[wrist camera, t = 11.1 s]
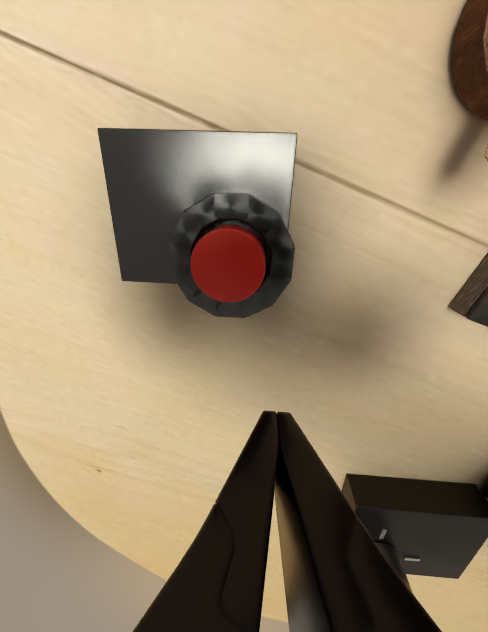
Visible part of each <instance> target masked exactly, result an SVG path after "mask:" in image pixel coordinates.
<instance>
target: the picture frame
mask: <svg viewBox="0 0 488 632" xmlns="http://www.w3.org/2000/svg"><path fill="white" fill-rule="evenodd" d="M448 307H449V308H451V309H453V310H454V311H456V312H457V313H459V314H461V315H462V316H464V317H466V318H467V319H470V320H472V321H475V322H477V323H480V324H483V325H485V326H488V254H487V255H486V257H485V258H484V259H483V261H482V262H481V263H480V265H479V266H478V267H477V269H476V270H475V271H474V273H473V274H472V275H471V277H470V278H469V279H468V281H467V282H466V283H465V285H464V286H463V287H462V289H461V290H460V291H459V293H458V294H457V295H456V297H455V298H454V299H453V301H452V302H451V303H450V305H449V306H448Z"/></svg>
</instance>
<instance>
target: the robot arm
mask: <svg viewBox="0 0 488 632" xmlns="http://www.w3.org/2000/svg"><path fill="white" fill-rule="evenodd" d="M274 491H275V502H276V511H277V521H278V530H279V539H280V548H281V557H282V566H283V576H284V585H285V594H286V603H287V612H288V621H289V630H290V632H442V631H441V630H440V629H439V627H438V626H437V625H436V624H435V622H434V621H433V620H432V618H431V617H430V616H429V615H428V613H427V612H426V611H425V609H424V608H423V607H422V605H421V604H420V603H419V602H418V600H417V599H416V598H415V596H414V595H413V594H412V593H411V591H410V590H409V589H408V587H407V586H406V585H405V583H404V582H403V581H402V579H401V578H400V577H399V575H398V574H397V573H396V571H395V570H394V569H393V567H392V566H391V565H390V563H389V562H388V561H387V559H386V558H385V556H384V555H383V553H382V552H381V550H380V549H379V548H378V546H377V545H376V543H375V542H374V540H373V539H372V537H371V536H370V534H369V533H368V531H367V530H366V528H365V527H364V525H363V524H362V522H361V520H360V519H359V518H357V515H356V513H355V511H354V510H353V508H352V507H351V505H350V504H349V502H348V501H347V499H346V498H345V496H344V495H343V493H342V492H341V490H340V488H339V487H338V485H337V484H336V482H335V481H334V479H333V478H332V476H331V475H330V473H329V472H328V470H327V469H326V467H325V465H324V464H323V462H322V461H321V459H320V458H319V456H318V455H317V453H316V452H315V450H314V449H313V447H312V445H311V444H310V442H309V441H308V439H307V438H306V436H305V435H304V433H303V432H302V430H301V429H300V427H299V426H298V424H297V422H296V421H295V419H294V418H293V416H292V415H291V414H290V413H288V412H277V413H276V412H275V411H263V412H262V414H261V416H260V418H259V420H258V422H257V424H256V426H255V427H254V429H253V431H252V433H251V435H250V437H249V439H248V441H247V443H246V445H245V446H244V448H243V450H242V452H241V454H240V456H239V458H238V460H237V462H236V464H235V465H234V467H233V469H232V471H231V473H230V475H229V477H228V479H227V481H226V483H225V485H224V486H223V488H222V490H221V492H220V494H219V496H218V498H217V500H216V502H215V504H214V505H213V507H212V509H211V511H210V513H209V515H208V517H207V518H206V520H205V522H204V524H203V525H202V527H201V529H200V531H199V533H198V534H197V536H196V538H195V540H194V541H193V543H192V544H191V546H190V547H189V549H188V550H187V552H186V554H185V555H184V557H183V558H182V560H181V561H180V563H179V564H178V566H177V567H176V569H175V570H174V572H173V573H172V575H171V576H170V578H169V579H168V581H167V582H166V584H165V585H164V586H163V588H162V589H161V591H160V592H159V594H158V595H157V597H156V598H155V600H154V601H153V603H152V604H151V606H150V607H149V609H148V610H147V612H146V613H145V615H144V616H143V617H142V619H141V620H140V622H139V623H138V625H137V626H136V627H135V629H134V630H133V632H259V628H260V619H261V610H262V601H263V591H264V582H265V573H266V564H267V555H268V545H269V536H270V527H271V518H272V509H273V499H274ZM482 494H483V495H484V496H485V498H486V499H487V501H488V484H487V486H486V488H485V489H484V491H483V492H482Z"/></svg>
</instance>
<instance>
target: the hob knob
mask: <svg viewBox="0 0 488 632" xmlns="http://www.w3.org/2000/svg"><path fill="white" fill-rule="evenodd" d="M375 543H376V545H377V546H378V548H379V549H380V550H381V552H382V553H383V555H384V556H385V558H386V559H387V561H388V562H389V563H390V565H391V566H392V567H393V569H394V570H395V571H396V573H397V574H398V575H399V577H400V578H401V579H402V581H403V582H404V583H405V585H406V586H407V587H408V589H409V590H410V591H411V593H412V590H411V587H410V585H409V582H408V579H407V577H406V574H405V571H404V568H403V566H402V563H401V560H400V558H399V555H398V552H397V551H396V549H395V548H394V547H392V546H390V545H388V544H385V543H379V542H375ZM412 594H413V593H412Z"/></svg>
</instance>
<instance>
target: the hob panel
mask: <svg viewBox="0 0 488 632" xmlns="http://www.w3.org/2000/svg"><path fill="white" fill-rule="evenodd" d="M342 493H343V495H344V496H345V498H346V499H347V501H348V502H349V504H350V505H351V507H352V508H353V510H354V511H355V513H356V515H357V518H359V519H360V520H361V522H362V524H363V525H364V527H365V528H366V530H367V531H368V533H369V534H370V536H371V537H372V539H373V540H374V542H379V543H385V544H388V545H390V546H392V547H394V548H395V549H396V551H397V552H398V555H399V558H400V560H401V563H402V566H403V568H404V571H405V574H413V575H423V576H434V577H445V578H455V579H458V578H459V577H460V576H461V574H462V573H463V571H464V570H465V569H466V567H467V566H468V564H469V563H470V562H471V560H472V559H473V557H474V556H475V555H476V553H477V552H478V550H479V549H480V548H481V546H482V545H483V543H484V542H485V541H486V539H487V538H488V501H487V499H486V498H485V496H484V495H483V494H482V492H481V491H480V490H479V488H478V487H477V485H475V484H462V483H450V482H437V481H425V480H412V479H399V478H387V477H374V476H362V475H349V474H347V476H346V479H345V483H344V486H343V490H342Z"/></svg>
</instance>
